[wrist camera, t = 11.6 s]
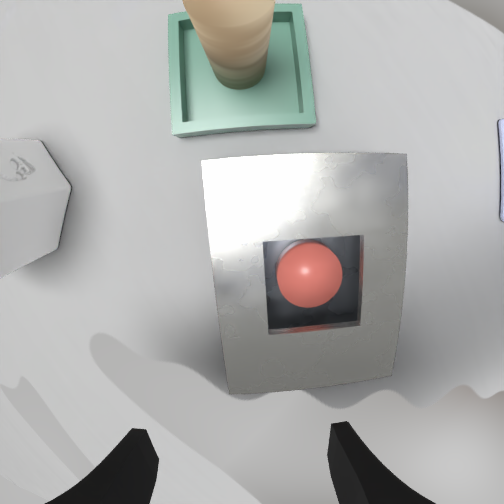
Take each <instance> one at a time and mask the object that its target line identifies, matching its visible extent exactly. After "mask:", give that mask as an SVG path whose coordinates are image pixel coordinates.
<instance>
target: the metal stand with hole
mask: <svg viewBox="0 0 504 504" xmlns="http://www.w3.org/2000/svg"><path fill="white" fill-rule="evenodd" d="M202 169H203V181H204V192H205V203H206V213H207V223H208V233H209V243H210V252H211V261H212V270H213V278H214V287H215V295H216V303H217V311H218V319H219V326H220V334H221V341H222V348H223V355H224V362H225V369H226V376H227V383H228V389H229V394H251V393H267V392H279V391H291V390H301V389H310V388H319V387H326V386H334V385H341V384H347V383H354V382H360V381H366V380H371V379H377V378H382V377H387V376H392V371H393V365H394V360H395V354H396V348H397V341H398V335H399V328H400V320H401V312H402V304H403V294H404V283H405V271H406V256H407V235H408V171H407V154H399V153H308V154H284V155H266V156H251V157H238V158H227V159H216V160H206V161H202ZM304 239H311V240H316V241H319V242H321V243H323V244H325V245H326V246H327V247H328V248H329V249H330V250H331V251H332V252H333V253H334V254H335V255H336V257H337V258H338V259H339V261H340V264H341V267H342V282H341V285H340V287H339V289H338V291H337V293H336V294H335V295H334V296H333V297H332V298H331V299H330V300H329V301H327V302H326V303H324V304H322V305H320V306H317V307H311V308H305V307H299V306H296V305H294V304H292V303H290V302H289V301H288V300H287V299H286V298H285V297H284V296H283V295H282V293H281V291H280V289H279V285H278V281H277V277H276V264H277V260H278V258H279V256H280V254H281V253H282V251H283V250H284V249H285V248H286V247H287V246H289V245H290V244H292V243H294V242H296V241H299V240H304Z"/></svg>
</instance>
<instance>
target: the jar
mask: <svg viewBox="0 0 504 504" xmlns="http://www.w3.org/2000/svg"><path fill="white" fill-rule="evenodd" d="M70 191H71V186H70V184H69V183H68V181H67V180H66V178H65V177H64V176H63V174H62V173H61V171H60V170H59V168H58V167H57V165H56V164H55V162H54V161H53V159H52V158H51V156H50V155H49V153H48V152H47V150H46V149H45V147H44V145H43V144H42V142H41V141H40V140H27V139H3V138H0V279H1V278H3V277H4V276H6V275H8V274H10V273H12V272H14V271H16V270H17V269H19V268H21V267H23V266H25V265H27V264H29V263H31V262H33V261H35V260H37V259H39V258H40V257H42V256H44V255H46V254H48V253H50V252H52V251H54V250H56V249H57V248H58V245H59V239H60V234H61V229H62V224H63V220H64V215H65V211H66V207H67V203H68V198H69V195H70Z"/></svg>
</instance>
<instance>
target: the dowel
mask: <svg viewBox="0 0 504 504" xmlns="http://www.w3.org/2000/svg"><path fill="white" fill-rule="evenodd" d="M183 4H184V6H185V9H186V11H187V13H188V15H189V17H190V20H191V22H192V24H193V26H194V29H195V31H196V33H197V35H198V37H199V40H200V42H201V44H202V47H203V49H204V51H205V53H206V56H207V58H208V60H209V62H210V65H211V67H212V69H213V72H214V74H215V76H216V78H217V80H218V81H219V82H220V83H221V84H222V85H224V86H225V87H228V88H230V89H235V90H243V89H248V88H250V87H253V86H254V85H256V84H257V83H258V82H259V81H260V80H261V79H262V77H263V75H264V73H265V68H266V61H267V54H268V47H269V40H270V33H271V27H272V20H273V13H274V6H275V0H183Z"/></svg>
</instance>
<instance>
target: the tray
mask: <svg viewBox="0 0 504 504" xmlns="http://www.w3.org/2000/svg"><path fill="white" fill-rule="evenodd" d="M168 54H169V86H170V107H171V124H172V135H174V136H177V137H179V138H183V137H190V136H199V135H208V134H217V133H228V132H239V131H252V130H268V129H289V128H310V127H312V126H313V125H315V124H316V118H315V107H314V97H313V87H312V78H311V69H310V61H309V53H308V45H307V38H306V31H305V24H304V17H303V11H302V5H301V4H275V6H274V13H273V20H272V27H271V33H270V40H269V47H268V54H267V61H266V68H265V73H264V75H263V77H262V79H261V80H260V81H259V82H258V83H257V84H256V85H254V86H253V87H250V88H248V89H243V90H235V89H230V88H228V87H225V86H224V85H222V84H221V83H220V82H219V81H218V80H217V78H216V76H215V74H214V72H213V69H212V67H211V65H210V62H209V60H208V58H207V56H206V53H205V51H204V49H203V47H202V44H201V42H200V40H199V37H198V35H197V33H196V31H195V29H194V26H193V24H192V22H191V20H190V17H189V15H188V13H187V11H186V12H180V13H174V14H169V15H168Z"/></svg>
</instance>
